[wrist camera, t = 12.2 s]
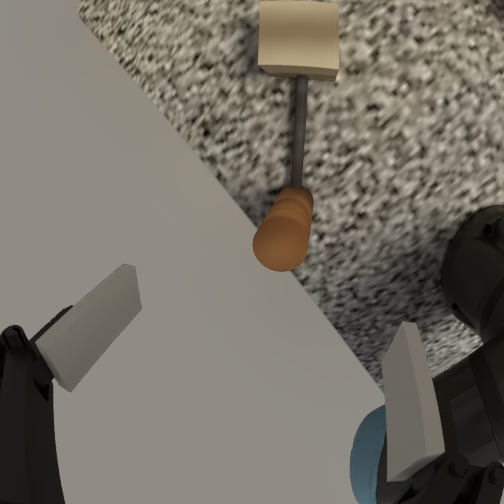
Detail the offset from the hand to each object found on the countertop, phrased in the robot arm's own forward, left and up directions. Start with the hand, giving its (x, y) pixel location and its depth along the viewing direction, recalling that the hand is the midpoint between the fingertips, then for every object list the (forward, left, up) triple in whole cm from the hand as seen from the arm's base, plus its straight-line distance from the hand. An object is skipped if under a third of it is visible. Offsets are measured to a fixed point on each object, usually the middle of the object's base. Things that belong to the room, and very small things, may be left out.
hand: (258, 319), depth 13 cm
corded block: (+9, +1, -18) cm, 20 cm away
